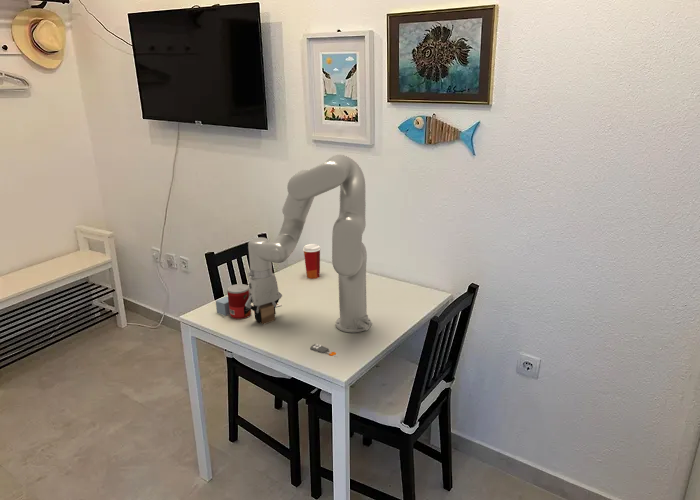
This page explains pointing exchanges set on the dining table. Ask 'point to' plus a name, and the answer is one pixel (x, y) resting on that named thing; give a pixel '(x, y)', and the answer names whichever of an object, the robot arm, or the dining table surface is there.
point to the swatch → (278, 305)
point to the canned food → (238, 301)
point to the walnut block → (267, 313)
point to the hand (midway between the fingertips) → (265, 318)
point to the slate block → (223, 306)
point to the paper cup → (312, 260)
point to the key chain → (322, 350)
